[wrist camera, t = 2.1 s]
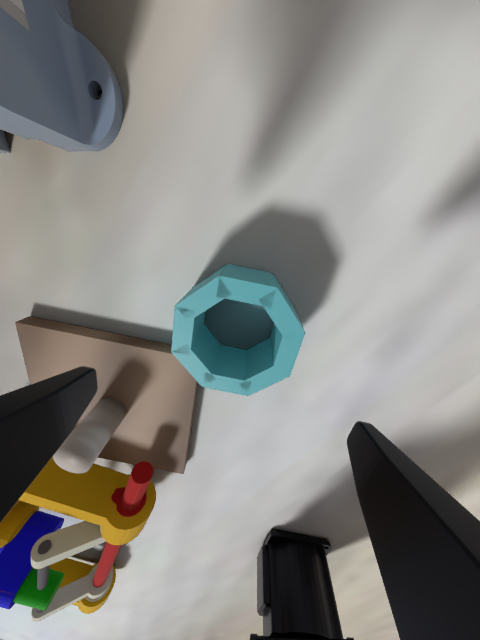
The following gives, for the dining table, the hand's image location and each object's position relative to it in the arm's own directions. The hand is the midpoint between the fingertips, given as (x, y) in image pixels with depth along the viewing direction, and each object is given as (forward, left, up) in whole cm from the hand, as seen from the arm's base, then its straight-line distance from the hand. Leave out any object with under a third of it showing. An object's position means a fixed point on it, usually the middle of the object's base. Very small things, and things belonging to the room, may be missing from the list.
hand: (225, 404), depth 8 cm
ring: (0, 0, -7) cm, 7 cm away
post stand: (+8, +9, -7) cm, 14 cm away
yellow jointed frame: (+15, +25, -7) cm, 30 cm away
